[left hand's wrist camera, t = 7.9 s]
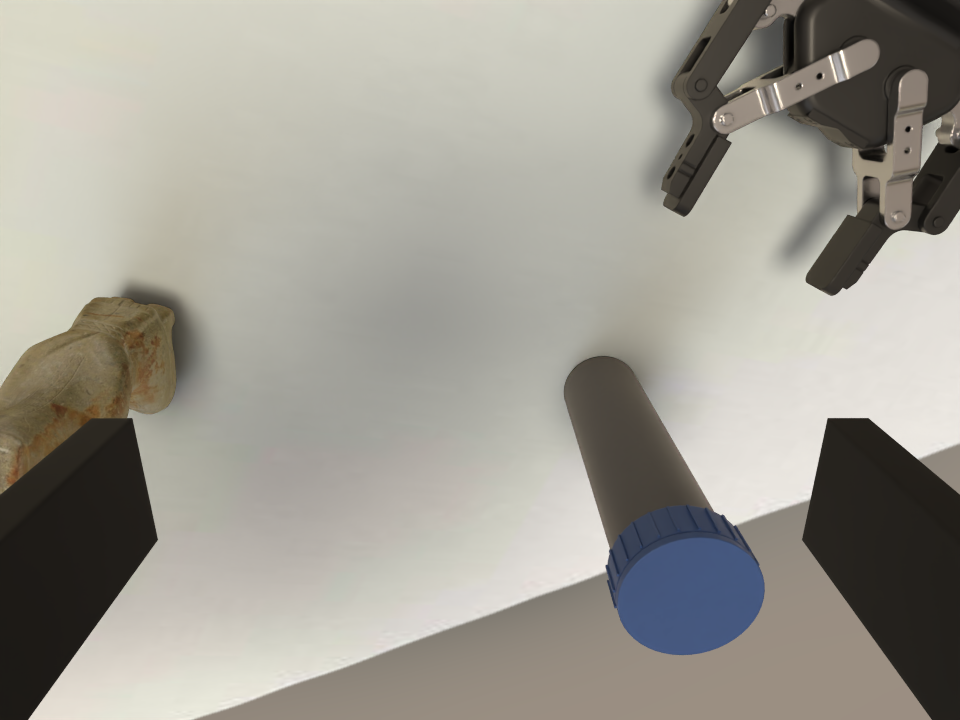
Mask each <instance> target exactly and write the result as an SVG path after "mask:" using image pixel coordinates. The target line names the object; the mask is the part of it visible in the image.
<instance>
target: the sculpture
mask: <svg viewBox="0 0 960 720" xmlns="http://www.w3.org/2000/svg"><path fill="white" fill-rule="evenodd" d="M174 323H175V317H174V313H173V311H172V310H171V309H169V308H167V307H164V306H161V305H157V304H148V305H143V304H139V303H135V302H134V300H132V299H129V298H120V297H112V298H105V297H98V298H94V299H93V300H92V301H91V302H90V303H89V304H87V305H85V307H84V308H83V309H82V311H81V312H80V313H79V315H78V316H77V318H76V319H75V321H74V323H73V325H72V327H71V328H70V329H69V330H68V331H67V332H64V333H62V334H59V335H57V336H54V337H52V338H49V339H47V340H44V341H42V342H40V343H38V344H36V345H34V346H32V347H30V348H29V349H28V350H27V351H26V352H25V353H24V354H23V355H22V356H21V358H20V359H19V361H18V362H17V363H16V365H15V366H14V368H13V369H12V371H11V372H10V374H9V375H8V377H7V378H6V380H5V381H4V383H3V384H2V386H1V388H0V494H2V493H3V492H4V491H5V490H6V489H8V488H9V487H10V486H11V485H12V484H14V483H15V482H16V481H17V480H18V479H20V478H21V477H22V476H23V475H24V474H26V473H27V472H28V471H29V470H30V469H32V468H33V467H34V466H35V465H36V464H38V463H39V462H40V461H41V460H42V459H44V458H45V457H46V456H47V455H48V454H50V453H51V452H52V451H53V450H54V449H56V448H57V447H58V446H59V445H60V444H61V443H63V442H64V441H65V440H66V439H67V438H69V437H70V436H71V435H72V434H73V433H75V432H76V431H77V430H78V429H79V428H81V427H82V426H83V425H84V424H85V423H87V422H88V421H89V420H90V419H91V418H127V416H128V411H129V409H132V410H135V411H137V412H140V413H144V414H153V413H157V412H159V411H161V410H163V409H165V408H166V407H167V406H168V405H169V403H170V402H171V400H172V398H173V396H174V392H175V388H176V367H175V357H174V351H173V346H172V326H173V325H174Z"/></svg>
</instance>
